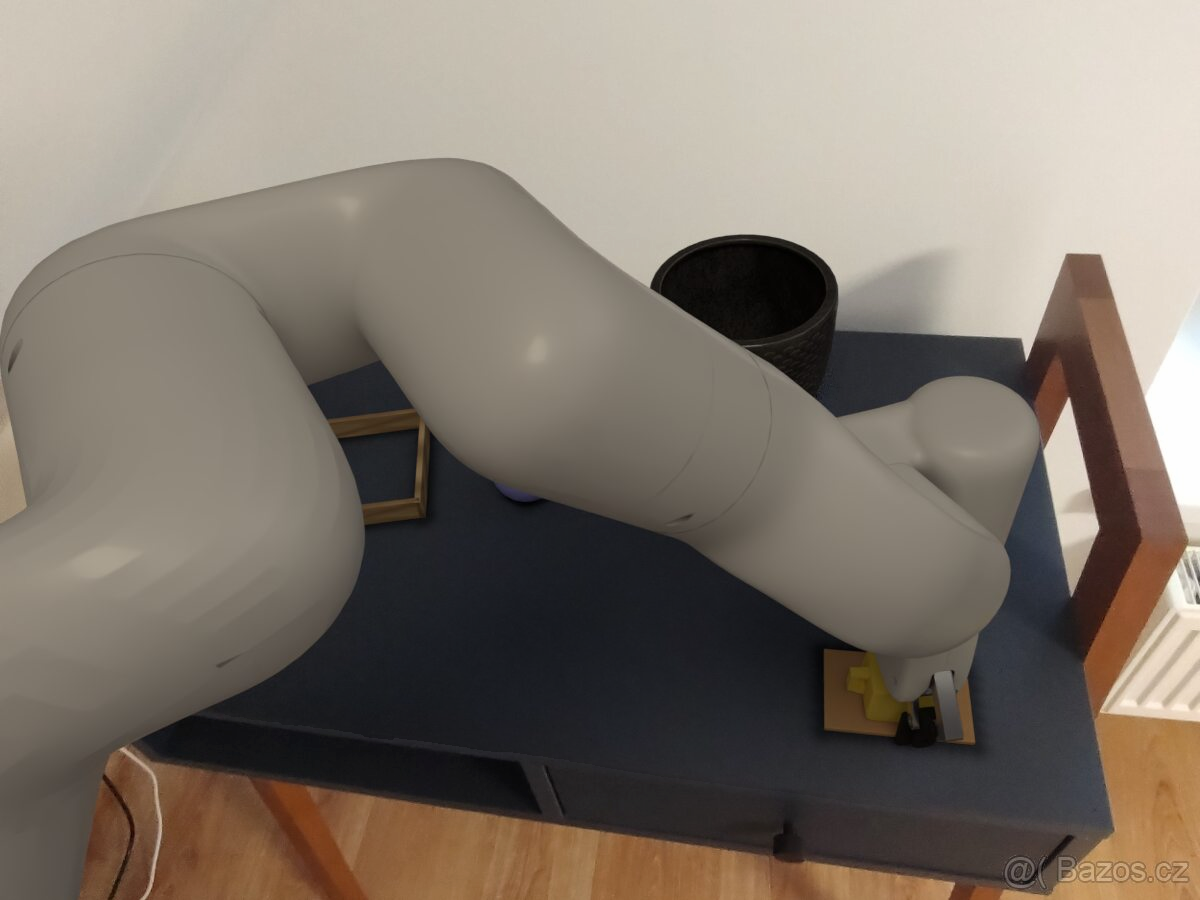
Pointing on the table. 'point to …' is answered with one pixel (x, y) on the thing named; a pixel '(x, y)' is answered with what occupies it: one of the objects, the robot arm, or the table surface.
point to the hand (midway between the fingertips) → (898, 685)
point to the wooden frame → (417, 504)
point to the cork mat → (848, 706)
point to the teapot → (878, 692)
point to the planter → (759, 299)
